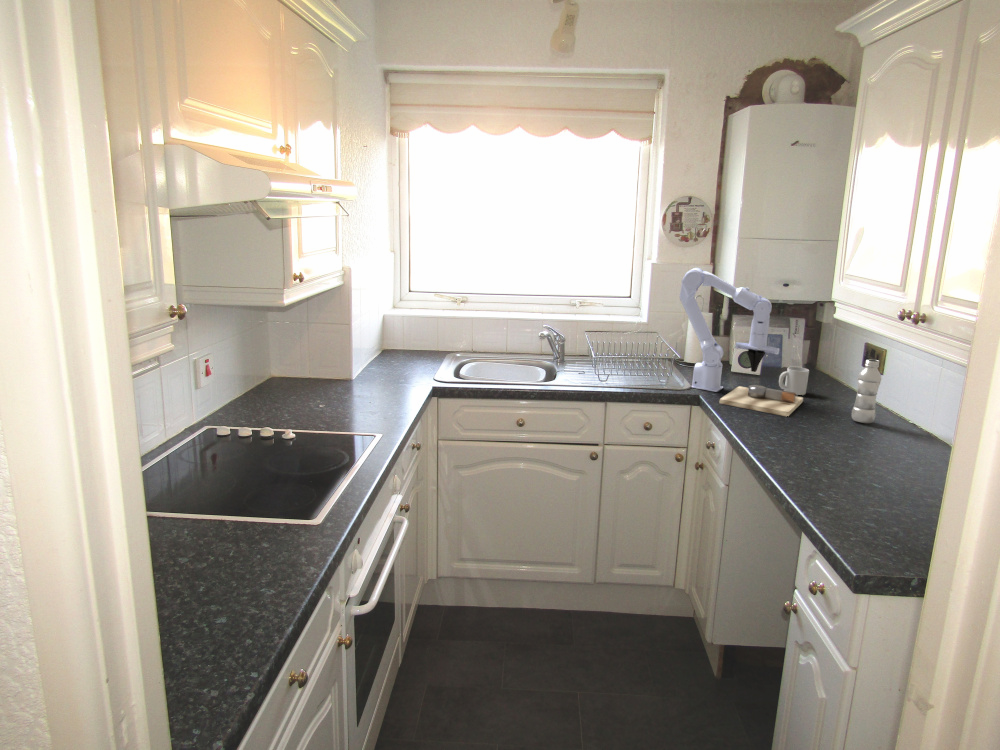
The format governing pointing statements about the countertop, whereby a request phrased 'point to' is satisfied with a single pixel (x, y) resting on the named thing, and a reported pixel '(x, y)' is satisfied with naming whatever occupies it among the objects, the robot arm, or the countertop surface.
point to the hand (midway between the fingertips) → (753, 371)
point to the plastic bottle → (867, 392)
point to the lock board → (759, 402)
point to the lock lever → (770, 393)
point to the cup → (795, 380)
